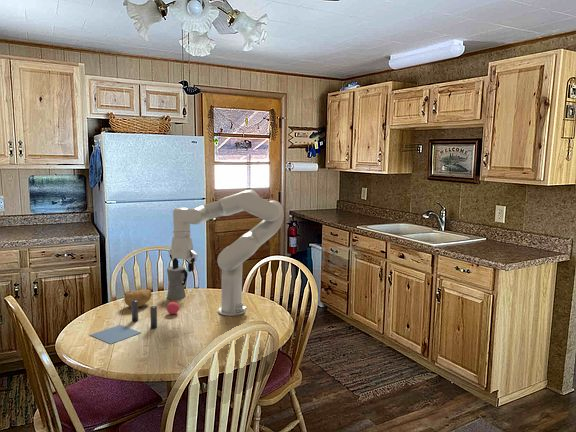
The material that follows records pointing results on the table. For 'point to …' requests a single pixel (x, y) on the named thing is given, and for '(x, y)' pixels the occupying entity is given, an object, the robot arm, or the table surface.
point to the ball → (173, 308)
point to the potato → (138, 297)
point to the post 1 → (134, 310)
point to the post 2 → (153, 316)
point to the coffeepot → (176, 282)
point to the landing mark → (115, 334)
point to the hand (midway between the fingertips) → (183, 269)
